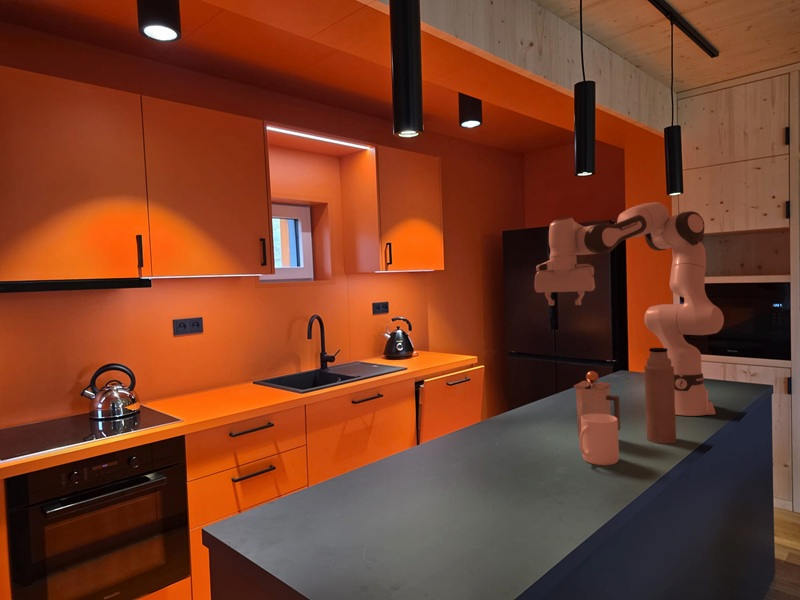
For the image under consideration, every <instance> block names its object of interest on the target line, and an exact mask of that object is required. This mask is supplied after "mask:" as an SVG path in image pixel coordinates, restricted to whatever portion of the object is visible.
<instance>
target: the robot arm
mask: <svg viewBox="0 0 800 600" xmlns="http://www.w3.org/2000/svg"><path fill="white" fill-rule="evenodd" d="M668 210H669V209H668V208H667V207H666V206H665V204H663V203H661V202H658V201H657V202H656V201H653V202H647V203H641V204H637V205H635V206H632V207H630V208H628V209H626V210H624V211H623V212H621V213H619V215H618V216H617V217H618V218H617V221H616V222H615V223H608V222H601V223H597V224H593V225H588V226H583V225H582V224H580V223H578V222H576V220H574V218H573V217H571V216H567V217H562V218H558V219H554V220H552V221H551V222H550V223H549V228H548V229H549V230H548V246H549V249H550V251H549V252H550V253H549V260H547V261H545V262H543V263H540V264H538V265H536V267H535V268H536V269H535V271H536V273H535V276H534V290H535V292H536V293H544V296H545V298H546V300H547V301H548V306H555V299H552V297H551V296H552V293H568V292H569V293H571V292H577V294H578V297H577V299H575V301H574V304H575V306H582V300H583V297H584V296H585V292H592V291H594V290H595V289H596V284H595V283H596V282H595V278H594V275H595V267H594V266H593V265H592V264H590V263H578V262H577V260H578V259H577V256H584V255H596V254H597V255H598V254H602V255H603V254H604V255H605V254H608V253H610V252H612V251H613V250H614V249H615V248H616V247H617V246H618V245H619V244H620V243H621V242H623V241H625V240H628V239H635V238H639V237H643V236H644V239H645V242H646V244H647V246H648V247H649V248H650V249H651V250H653V251H657V252H659V251H665V250H668V249H672V253H673V259H672V261H671V269H670V277H669V285H668V286H669V289H670V291H671V292H672V293H673V294H675V295H677V296H679V297H681V298H684V299H683V301H684V302H683V303H674V304H673V303H668V304H667V303H664V304H663V303H662V304H656V305H652V306H649V307H648V308H647V310H646V311H645V313H644V315H643V316H644V318H643V320H644V325H645V327H646V328H647V329H648V331H649V332H651V333H653V334H654V335H655V336H656V337H657V338H658V340H659V341H660V343H661V345H662V348H666V349H667V354H668V358H669V359H671V362H672V363H671V366H673V367H674V388H675V416H676V415H677V416H685V417H686V416H689V417H696V416H697V417H698V416H700V417H701V416H708V415H709V416H710V415H711V416H712V415H716V410H715V406H714V405H713V402H711V400H710V399H709V395H708V390H707V387H705V385H704V374H703V372H702V353H701V352H700V350H699V349H698V347H696V346H694V345H692V344H691V343H688V342H687V341H686V339H685V338H684V335H687V336H688V335H693V336H705V335H713V334H717V333H719V332H720V330H722V329H723V325H724V322H725V318H724V314H723V312H722V310H721V309H720V308H719V307H718V306H717V305H715V304H713V302H711V300H710V299H709V298H708V295H707V294H706V293H707V292H706V290H705V288H706V287H705V281H706V278H705V277H706V268H707V255H706V248H705V246H704V244H703V243H702V240H703V238H704V233H705V221H704V219H703V217H702V216H701V214H699V213H698V212H696V211H692V210H691V211H690V210H689V211H683V212H681V213H678V214H675V215H672V216H670V214H669V211H668Z"/></svg>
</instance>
